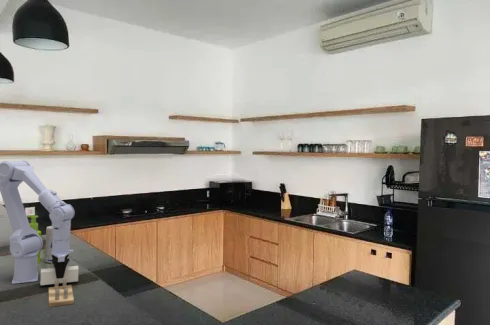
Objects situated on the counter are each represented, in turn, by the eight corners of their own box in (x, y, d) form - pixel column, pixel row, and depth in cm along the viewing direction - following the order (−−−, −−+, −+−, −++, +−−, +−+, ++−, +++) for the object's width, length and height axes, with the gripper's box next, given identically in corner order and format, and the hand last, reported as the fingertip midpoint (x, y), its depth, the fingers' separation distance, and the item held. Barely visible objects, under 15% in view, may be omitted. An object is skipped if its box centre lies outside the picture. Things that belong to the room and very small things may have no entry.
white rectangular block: (40, 285, 127) (40, 272, 127) (40, 281, 130) (41, 269, 130) (78, 281, 133) (78, 268, 132) (77, 277, 136) (77, 265, 136)
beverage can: (53, 264, 153) (54, 228, 152) (41, 262, 154) (43, 227, 153) (62, 260, 158) (63, 226, 158) (51, 259, 159) (52, 225, 159)
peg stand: (48, 291, 125) (49, 278, 124) (71, 288, 128) (71, 276, 128) (48, 307, 112) (49, 293, 112) (73, 303, 116) (74, 290, 116)
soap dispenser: (25, 260, 156) (27, 214, 155) (42, 260, 156) (44, 214, 156) (18, 264, 150) (20, 216, 149) (36, 265, 150) (37, 217, 150)
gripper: (74, 242, 127) (73, 281, 127) (72, 233, 139) (70, 268, 140) (51, 244, 123) (50, 283, 124) (51, 234, 136) (50, 270, 136)
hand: (59, 275), depth 131 cm, fingers closed on white rectangular block, 4 cm apart
